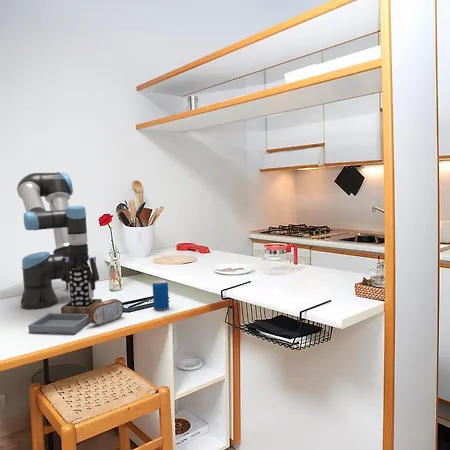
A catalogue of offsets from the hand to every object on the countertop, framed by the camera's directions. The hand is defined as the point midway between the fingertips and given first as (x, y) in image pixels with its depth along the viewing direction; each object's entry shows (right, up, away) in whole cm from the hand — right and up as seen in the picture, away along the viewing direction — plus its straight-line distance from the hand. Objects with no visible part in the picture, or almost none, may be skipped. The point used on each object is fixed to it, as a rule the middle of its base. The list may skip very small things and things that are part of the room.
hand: (81, 297), depth 176 cm
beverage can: (+32, -6, +6) cm, 33 cm away
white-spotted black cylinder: (0, -7, +1) cm, 8 cm away
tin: (+13, -8, -9) cm, 18 cm away
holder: (0, -7, +1) cm, 7 cm away
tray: (-3, -9, -14) cm, 17 cm away
